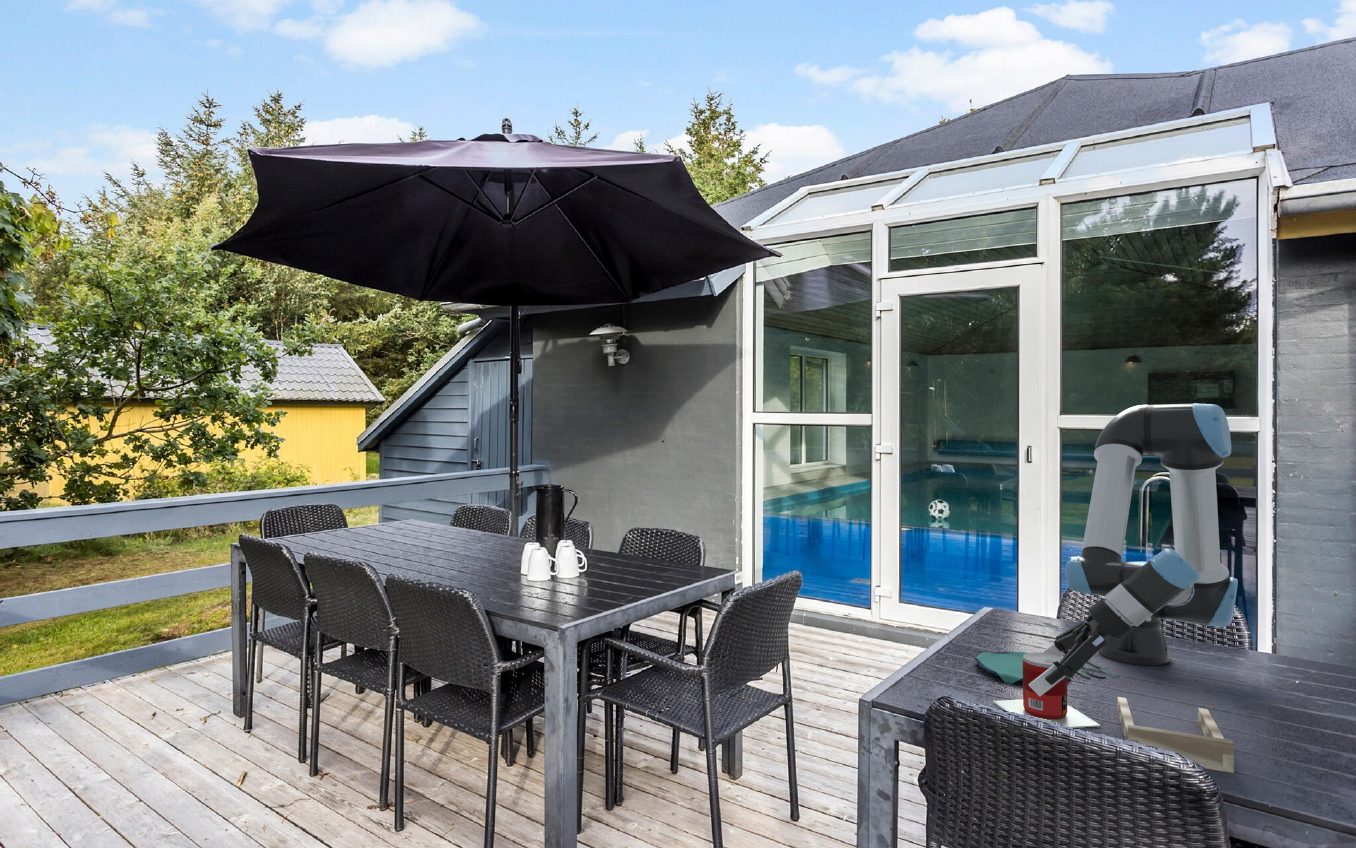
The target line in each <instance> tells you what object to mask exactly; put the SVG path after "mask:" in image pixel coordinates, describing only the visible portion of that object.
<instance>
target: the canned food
mask: <svg viewBox="0 0 1356 848" xmlns="http://www.w3.org/2000/svg"><path fill="white" fill-rule="evenodd" d="M1062 658H1063V656H1061V657H1059V656H1056V655H1053V654H1047V653H1041V652H1027V654H1024V655H1023V681H1022V699H1023V706H1024V709H1025V711H1026V712H1027V713H1029V714H1030V715H1033V716H1035V717H1039V718H1043V719H1051V720H1057V719H1062V718H1064V717H1066V714H1067V705H1068V680H1067V677H1065V678H1064V679H1062V680H1061V681H1060V682H1058V683H1057V684H1056V685H1054V686H1053V687H1052V688H1051V689H1049V690H1048V691H1047V692H1045V693H1044V694H1043V695H1041V696H1039V695H1038V694H1037V693H1036V692H1035V691H1034V690H1033V689H1032V688H1031V687H1030V686H1029V684H1030V683H1031V682H1032V681H1033V680H1035V679H1036V678H1037V677H1039V676H1040V675H1041V674H1042V673H1044V672H1045V671H1046V670H1048V669H1049V668H1050V667H1051V666H1053V665H1054V664H1053V662H1055V661H1058V662H1060V661H1061V660H1062Z"/></svg>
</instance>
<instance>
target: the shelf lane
mask: <svg viewBox="0 0 1356 848" xmlns="http://www.w3.org/2000/svg"><path fill="white" fill-rule="evenodd" d="M1116 699H1117V703H1116V704H1117V706H1116V707H1117V714H1118V718H1119V722H1121V723H1120V726H1121V730H1122V729H1123V730H1122V734H1123V733H1124V734H1123V737H1124V736H1125V738H1124V740H1125V739H1127V740H1128V741H1133V742H1136V743H1142V744H1145V745H1147V746H1155V747H1157V748H1162V749H1164V750H1169V751H1174V752H1177V753H1180V754H1181V755H1184V756H1186V758H1189V759H1190V760H1193V762H1195V763H1198V764H1199V765H1203V767H1205V768H1204V769H1206V770H1212V771H1218V772H1224V773H1230V774H1235V751H1234V750H1235V748H1234V747H1235V743H1234V741H1233V739H1226V738H1224V736H1223V734H1222V732H1221V730H1220V729H1219V727H1218V725H1217V723H1216V721H1215V720H1214V718H1213V716H1212V715H1211V713H1210V711H1209V709H1208V708H1203V707H1197V724H1198V726H1199V727H1200V729H1201V731H1202V733H1203V735H1201V734H1194V733H1188V732H1182V731H1181V732H1180V731H1173V730H1167V729H1161V728H1160V729H1159V728H1155V727H1148V726H1142V725H1141V726H1140V725H1135V723H1134V720H1133V717H1132V713H1131V711H1130V707H1129V704H1128V700H1127V697H1124V696H1123V697H1121V696H1117V698H1116Z"/></svg>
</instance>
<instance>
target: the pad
mask: <svg viewBox="0 0 1356 848" xmlns="http://www.w3.org/2000/svg"><path fill="white" fill-rule="evenodd" d="M993 704H994V705H995V706H998V708H1000V709H1001V710H1002V711H1004V710H1005V711H1009V712H1015V713H1018V714H1022V715H1030V714H1029V713H1027V712H1026V711H1025V709H1024V706H1023V698H1022V699H1021V698H1020V699H1004V700H1003V699H1002V700H993ZM1005 711H1004V712H1005ZM1030 716H1033V715H1030ZM1034 717H1035V716H1034ZM1038 718H1039V717H1038ZM1047 720H1051V719H1047ZM1051 722H1058V723H1059V724H1065V725H1066V726H1069V727H1077V728H1079V729H1085V728H1084V727H1097V728H1101V724H1099V723H1098V722H1096V721H1094V720H1093V719H1091V718H1090V717H1088V716H1087V715H1084V713H1081V712H1080V711H1079V710H1077V709H1075V708H1074V707H1072V706H1070V705H1069V704H1067V714H1066V717H1064V718H1062V719H1057V720H1051Z"/></svg>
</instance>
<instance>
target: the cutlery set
mask: <svg viewBox="0 0 1356 848" xmlns="http://www.w3.org/2000/svg"><path fill="white" fill-rule="evenodd" d="M1027 653H1028V652H1027V651H992V652H982V653H980V654H978V655H977V656H976V657H975V658H974V660H975V661H976V664H977V665H978V666H979V667H980V668H981V669H983V670H984V671H987V672H988V673H990V674H992V675H995V676H998V677H1000V679H1001V680H1002V681H1003V682H1004V683H1006V684H1009V685H1013V684H1014V683H1015V682H1018V681H1020V682H1023V655H1024V654H1027ZM1064 656H1065V654H1064V653H1063V655H1062V658H1063V657H1064ZM1085 664H1088V665H1090V666H1092V667H1094V669H1093V668H1091V667H1090V668H1088V667H1086V666H1085ZM1085 664H1084V665H1083V666H1082V667H1081V668H1083V669H1084V672H1086V673H1087V674H1086V673H1084V672H1082V671H1081V670H1080V669H1079V670H1078V671H1077V672H1076V673H1075V674H1078V675H1080V676H1082V677H1084V678H1086V679H1089V680H1091V679H1092V677H1094V678H1095V677H1096V678H1105V677H1106V676H1109V677H1111V678H1113V679H1115V678H1117V679H1120V676H1118V675H1117V674H1115V673H1113V672H1112V671H1111V670H1110V669H1108V667H1105V666H1103V665H1099V664H1096V663H1094V662H1092V661H1091V660H1090V659H1089V660H1088V661H1087V662H1086V663H1085ZM1095 668H1097V669H1098V670H1097V669H1095ZM1090 672H1094V673H1097V674H1099V675H1095V674H1094V673H1090ZM1089 675H1090V676H1089ZM1100 675H1101V676H1100ZM1091 676H1092V677H1091ZM1069 679H1070V678H1069V677H1068V676H1067V681H1068V680H1069Z"/></svg>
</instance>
